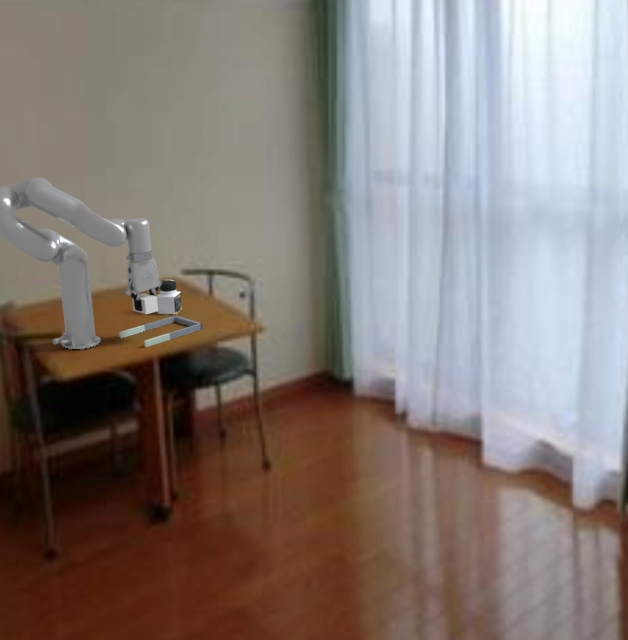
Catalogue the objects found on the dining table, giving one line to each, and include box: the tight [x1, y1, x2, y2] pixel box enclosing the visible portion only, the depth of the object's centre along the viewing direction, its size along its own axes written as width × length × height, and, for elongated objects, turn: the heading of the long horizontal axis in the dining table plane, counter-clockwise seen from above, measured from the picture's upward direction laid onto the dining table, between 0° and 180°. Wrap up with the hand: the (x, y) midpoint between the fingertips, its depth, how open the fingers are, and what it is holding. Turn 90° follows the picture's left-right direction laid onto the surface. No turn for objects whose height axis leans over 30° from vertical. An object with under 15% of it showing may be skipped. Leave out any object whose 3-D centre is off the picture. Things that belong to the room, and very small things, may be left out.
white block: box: [131, 293, 158, 315], centre depth 284 cm, size 5×7×5 cm
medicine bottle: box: [155, 279, 183, 316], centre depth 315 cm, size 7×7×12 cm
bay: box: [118, 314, 204, 348], centre depth 292 cm, size 24×15×2 cm, turn 137°
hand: (145, 307), depth 285 cm, fingers closed on white block, 5 cm apart
